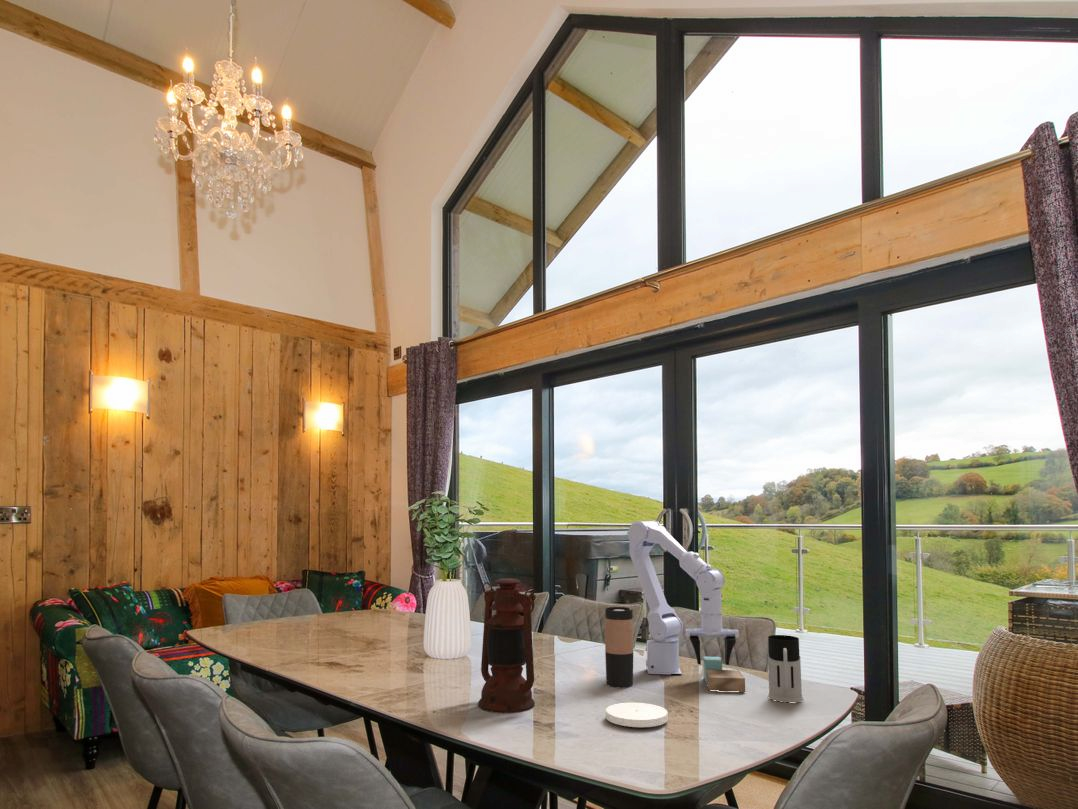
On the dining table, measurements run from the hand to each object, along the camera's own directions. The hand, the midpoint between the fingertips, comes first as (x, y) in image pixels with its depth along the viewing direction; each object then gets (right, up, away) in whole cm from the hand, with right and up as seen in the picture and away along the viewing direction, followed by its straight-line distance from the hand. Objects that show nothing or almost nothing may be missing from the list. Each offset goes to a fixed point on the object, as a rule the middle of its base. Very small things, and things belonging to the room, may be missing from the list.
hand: (712, 663), depth 206 cm
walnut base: (+1, -4, -9) cm, 9 cm away
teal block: (0, -5, 0) cm, 5 cm away
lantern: (-56, -1, -26) cm, 62 cm away
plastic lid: (-26, 0, -38) cm, 46 cm away
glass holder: (+13, -2, -21) cm, 25 cm away
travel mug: (-27, -4, -5) cm, 27 cm away
